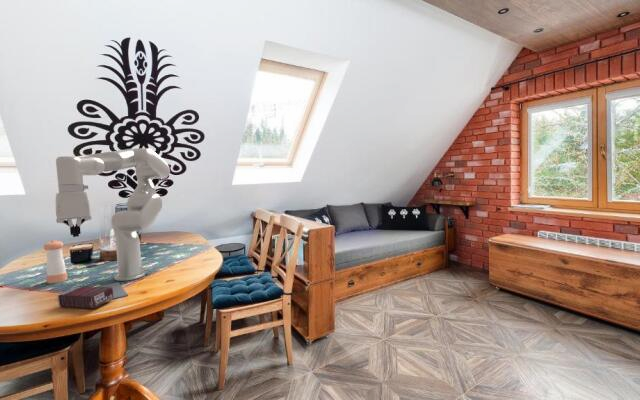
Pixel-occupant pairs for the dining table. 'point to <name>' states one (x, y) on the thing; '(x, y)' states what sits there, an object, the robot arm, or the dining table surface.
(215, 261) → the dining table surface
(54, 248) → the pepper shaker
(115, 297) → the mat
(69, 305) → the supplement box
